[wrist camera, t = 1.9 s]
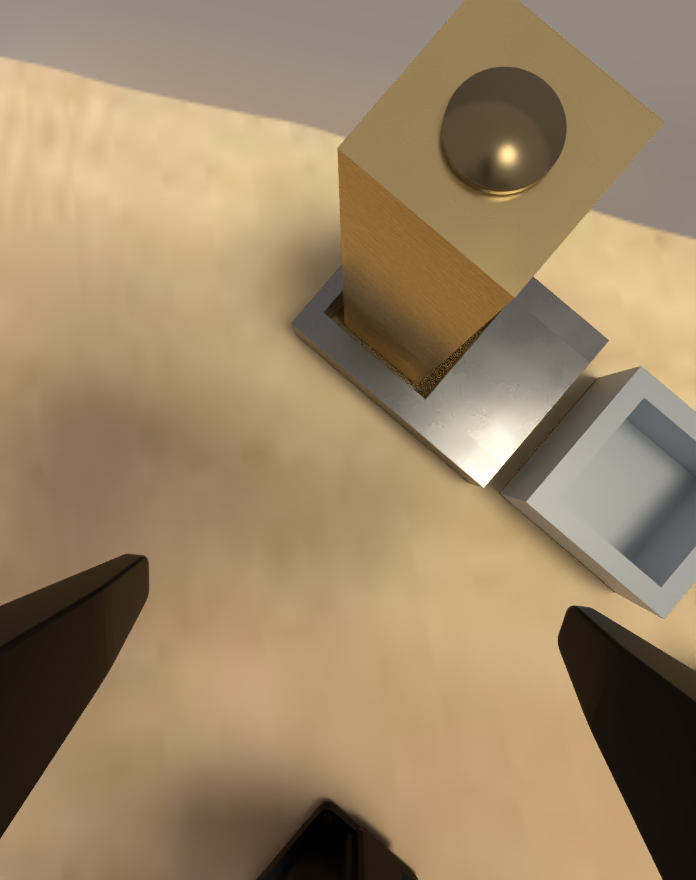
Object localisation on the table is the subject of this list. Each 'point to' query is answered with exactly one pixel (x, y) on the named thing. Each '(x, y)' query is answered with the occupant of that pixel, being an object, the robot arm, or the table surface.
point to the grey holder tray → (469, 376)
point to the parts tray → (620, 488)
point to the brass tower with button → (474, 178)
